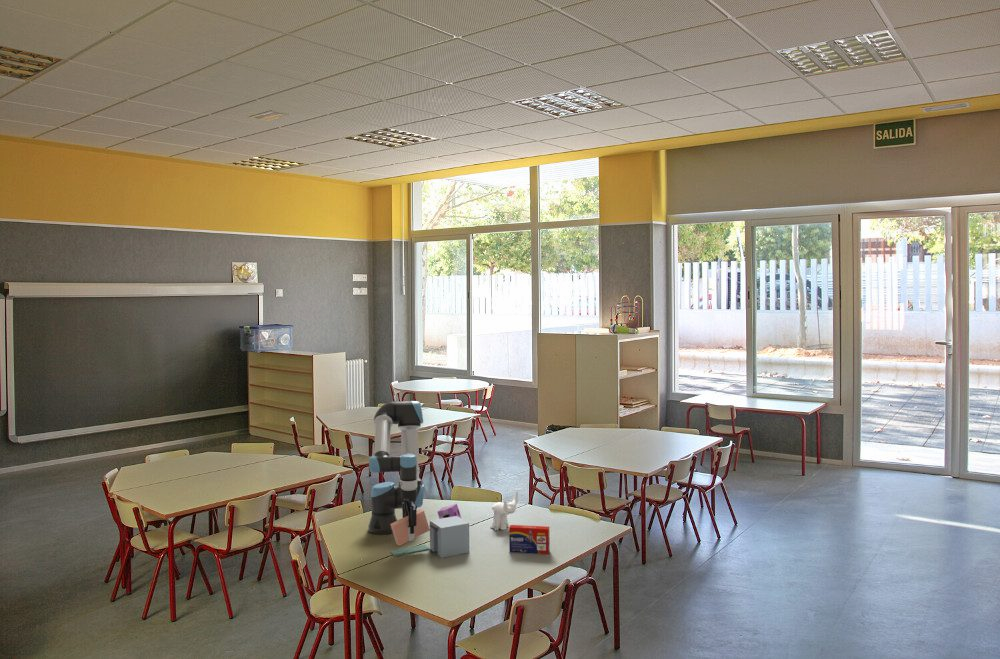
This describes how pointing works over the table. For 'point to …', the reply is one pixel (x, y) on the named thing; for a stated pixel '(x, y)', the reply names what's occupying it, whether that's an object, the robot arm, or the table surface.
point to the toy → (449, 511)
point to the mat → (409, 550)
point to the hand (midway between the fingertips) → (409, 538)
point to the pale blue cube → (449, 536)
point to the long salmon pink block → (402, 527)
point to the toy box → (529, 539)
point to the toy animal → (503, 513)
